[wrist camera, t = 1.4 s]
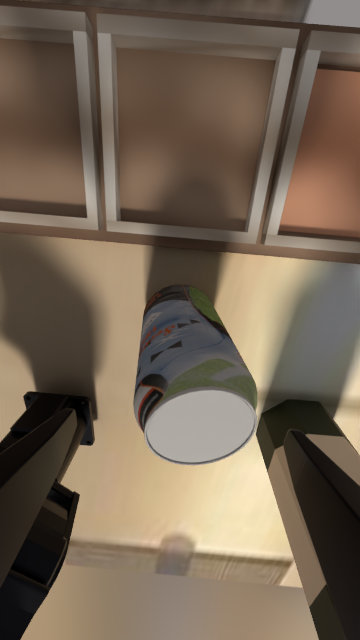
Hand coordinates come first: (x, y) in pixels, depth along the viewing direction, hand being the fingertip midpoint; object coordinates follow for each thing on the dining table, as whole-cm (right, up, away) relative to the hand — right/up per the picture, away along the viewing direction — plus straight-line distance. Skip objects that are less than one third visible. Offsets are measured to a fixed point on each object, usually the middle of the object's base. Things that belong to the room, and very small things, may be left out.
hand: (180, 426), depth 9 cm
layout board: (+1, +16, +6) cm, 17 cm away
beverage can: (+1, +5, +11) cm, 12 cm away
